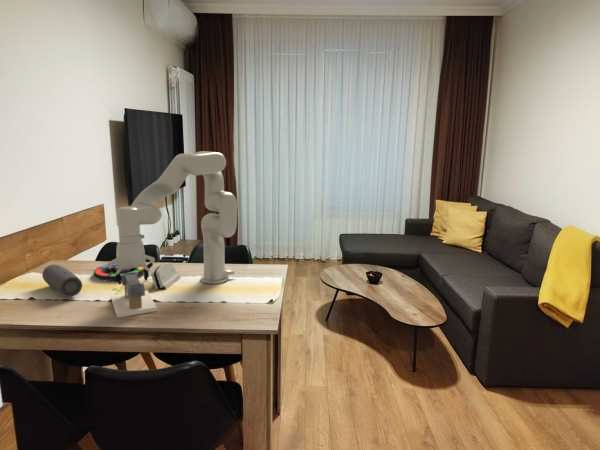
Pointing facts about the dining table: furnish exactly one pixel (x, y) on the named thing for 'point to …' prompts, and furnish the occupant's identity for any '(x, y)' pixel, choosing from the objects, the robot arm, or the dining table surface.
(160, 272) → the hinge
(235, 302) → the dining table surface
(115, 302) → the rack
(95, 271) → the electronic game
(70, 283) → the bluetooth speaker
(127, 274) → the dark grey block
